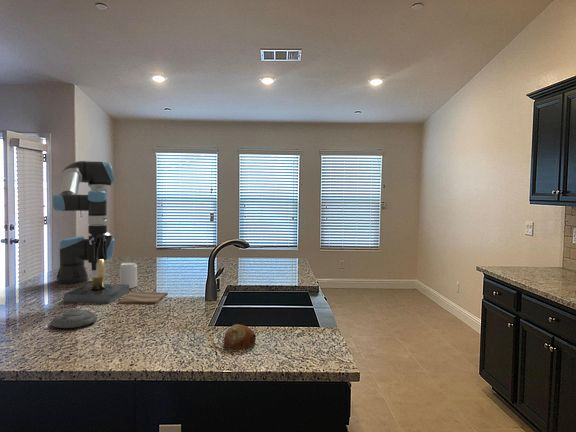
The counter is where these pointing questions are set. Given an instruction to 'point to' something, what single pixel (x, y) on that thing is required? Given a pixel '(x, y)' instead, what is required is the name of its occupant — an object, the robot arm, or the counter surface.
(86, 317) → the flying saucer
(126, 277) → the white cylinder
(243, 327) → the bread roll
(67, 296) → the bore block
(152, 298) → the walnut pad
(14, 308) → the counter surface
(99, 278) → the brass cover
